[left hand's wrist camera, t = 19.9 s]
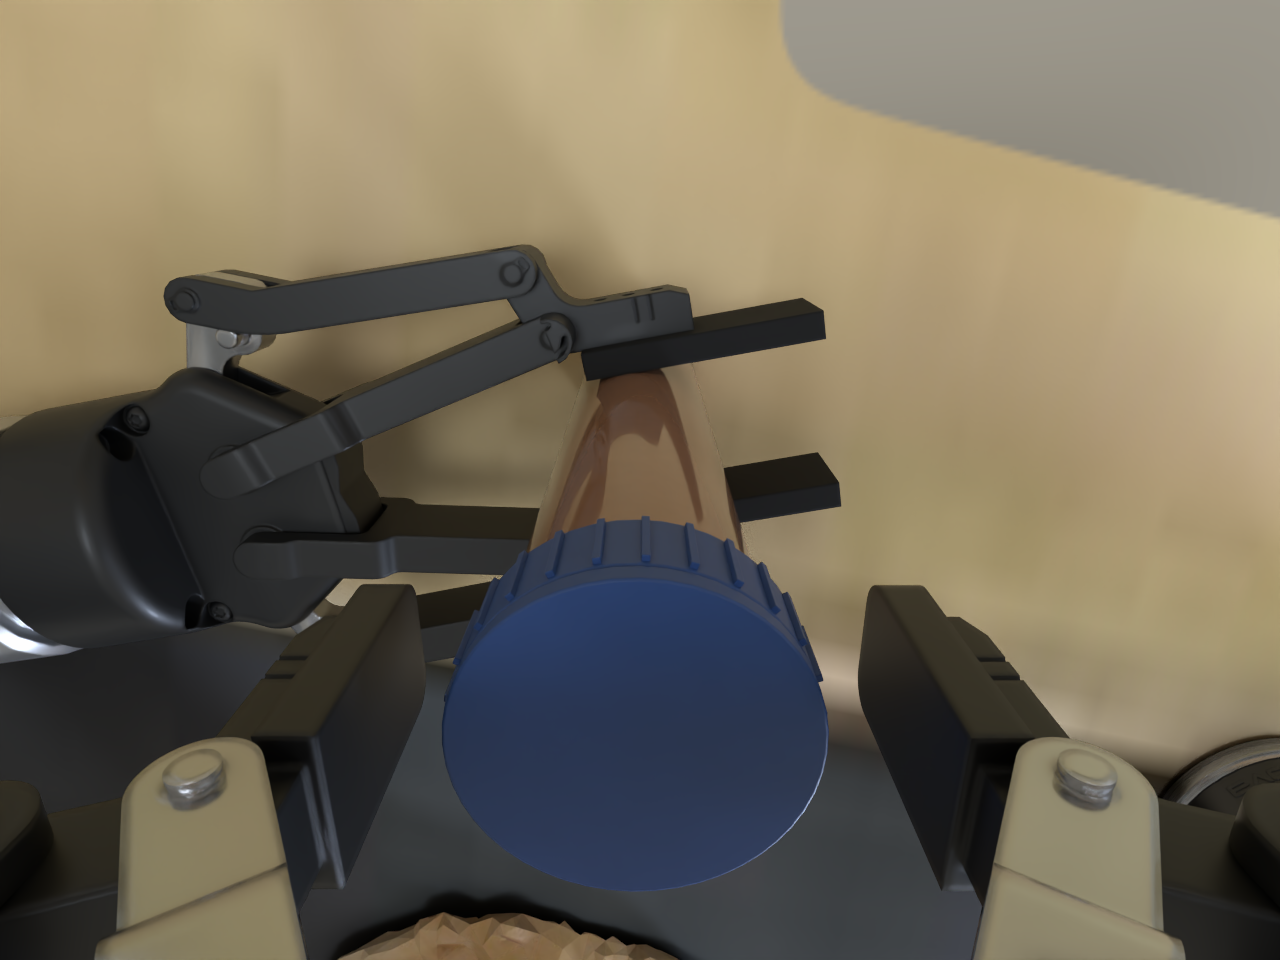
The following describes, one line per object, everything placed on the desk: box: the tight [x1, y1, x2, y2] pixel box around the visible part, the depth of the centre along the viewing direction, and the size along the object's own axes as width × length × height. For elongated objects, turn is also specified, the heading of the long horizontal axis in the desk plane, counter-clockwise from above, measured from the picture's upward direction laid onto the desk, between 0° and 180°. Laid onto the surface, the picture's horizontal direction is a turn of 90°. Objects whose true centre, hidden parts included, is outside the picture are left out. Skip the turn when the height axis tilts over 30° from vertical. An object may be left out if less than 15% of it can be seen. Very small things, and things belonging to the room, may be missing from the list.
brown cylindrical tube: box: [526, 363, 751, 559], centre depth 19 cm, size 4×4×19 cm
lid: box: [442, 516, 829, 891], centre depth 10 cm, size 5×5×2 cm
